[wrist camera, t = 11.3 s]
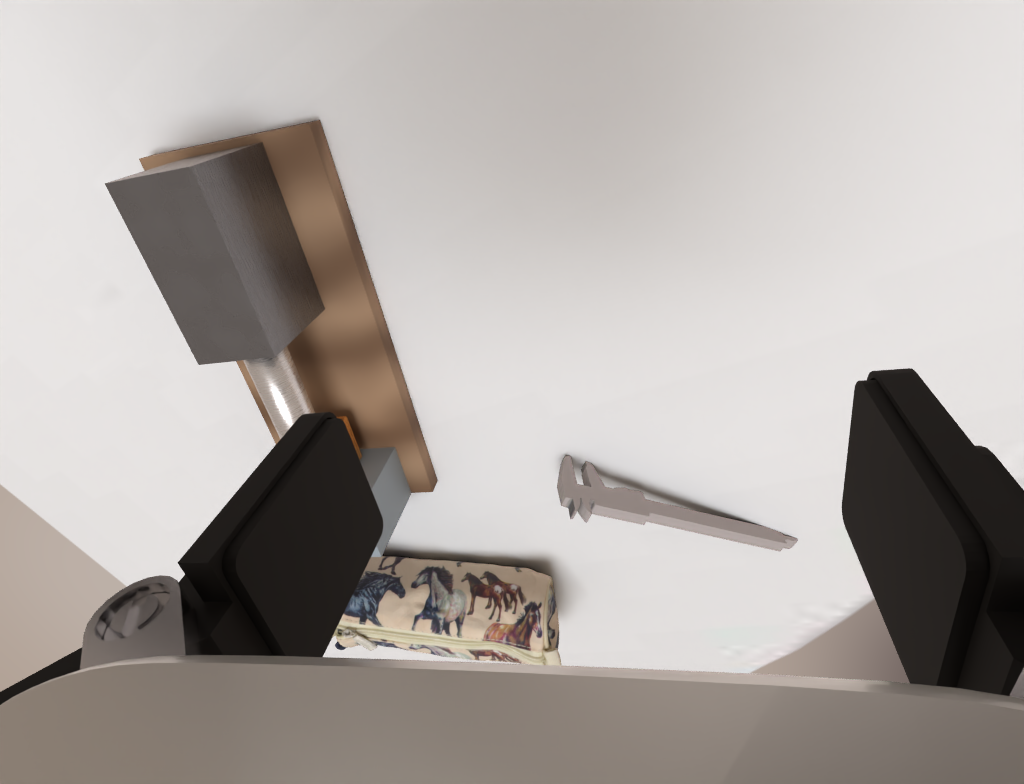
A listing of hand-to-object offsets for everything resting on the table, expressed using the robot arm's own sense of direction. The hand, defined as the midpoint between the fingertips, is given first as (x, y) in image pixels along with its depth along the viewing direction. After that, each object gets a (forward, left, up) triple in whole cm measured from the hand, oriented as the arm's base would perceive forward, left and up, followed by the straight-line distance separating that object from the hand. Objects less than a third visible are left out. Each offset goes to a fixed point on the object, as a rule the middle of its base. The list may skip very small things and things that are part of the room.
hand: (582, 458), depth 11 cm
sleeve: (+1, -25, -29) cm, 38 cm away
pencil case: (+37, -19, -31) cm, 52 cm away
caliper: (+28, +2, -31) cm, 42 cm away
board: (+10, -25, -30) cm, 41 cm away
